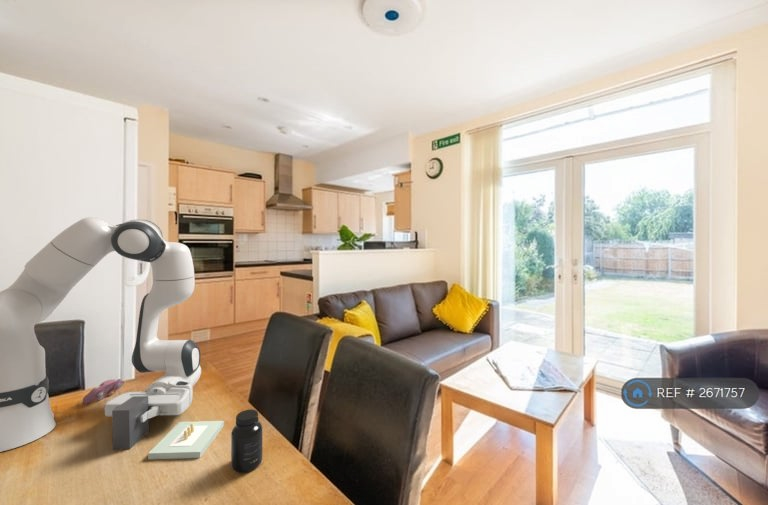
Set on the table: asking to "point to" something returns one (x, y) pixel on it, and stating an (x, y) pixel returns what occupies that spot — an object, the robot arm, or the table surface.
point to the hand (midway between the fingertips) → (128, 419)
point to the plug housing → (129, 422)
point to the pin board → (187, 440)
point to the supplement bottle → (246, 442)
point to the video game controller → (103, 390)
